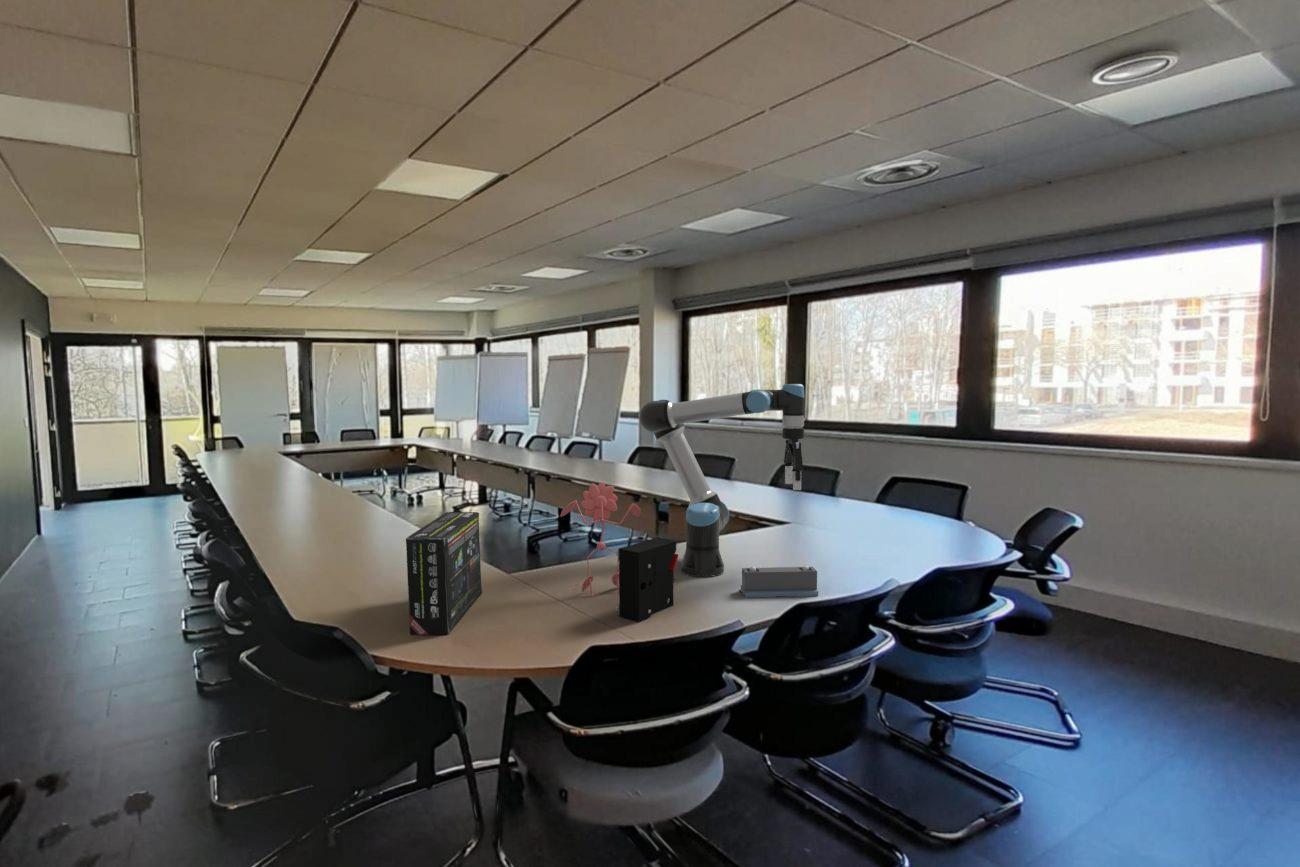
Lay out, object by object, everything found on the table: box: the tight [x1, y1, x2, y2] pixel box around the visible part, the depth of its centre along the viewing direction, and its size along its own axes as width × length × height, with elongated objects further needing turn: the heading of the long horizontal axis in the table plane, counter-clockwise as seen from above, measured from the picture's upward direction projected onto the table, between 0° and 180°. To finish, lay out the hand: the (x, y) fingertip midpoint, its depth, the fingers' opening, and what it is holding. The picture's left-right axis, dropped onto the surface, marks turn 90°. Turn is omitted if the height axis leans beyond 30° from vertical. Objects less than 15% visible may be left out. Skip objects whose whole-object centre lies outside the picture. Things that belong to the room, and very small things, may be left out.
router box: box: [405, 511, 483, 636], centre depth 196 cm, size 36×11×27 cm, turn 0°
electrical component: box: [615, 536, 679, 623], centre depth 198 cm, size 18×10×20 cm, turn 141°
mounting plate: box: [740, 564, 819, 598], centre depth 214 cm, size 23×8×9 cm, turn 93°
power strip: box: [741, 566, 818, 591], centre depth 214 cm, size 23×5×6 cm, turn 93°
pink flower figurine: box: [560, 482, 642, 597], centre depth 218 cm, size 15×26×35 cm, turn 110°
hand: (792, 486), depth 240 cm, fingers open, 13 cm apart
